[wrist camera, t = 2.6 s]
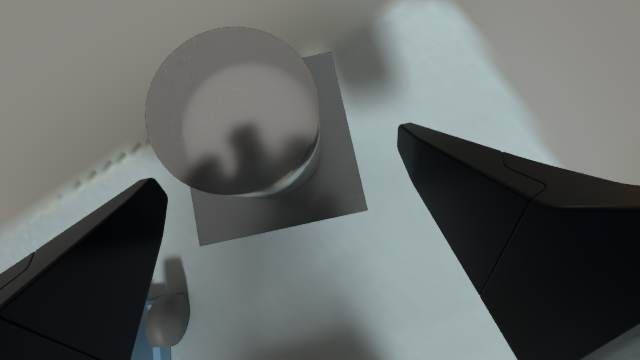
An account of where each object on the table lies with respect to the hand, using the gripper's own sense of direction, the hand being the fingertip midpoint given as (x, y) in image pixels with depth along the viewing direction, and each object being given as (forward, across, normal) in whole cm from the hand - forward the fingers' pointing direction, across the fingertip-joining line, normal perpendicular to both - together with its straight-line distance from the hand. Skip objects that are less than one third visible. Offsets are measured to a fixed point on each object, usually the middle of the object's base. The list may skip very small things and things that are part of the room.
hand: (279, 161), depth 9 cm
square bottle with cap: (+6, 0, +6) cm, 8 cm away
